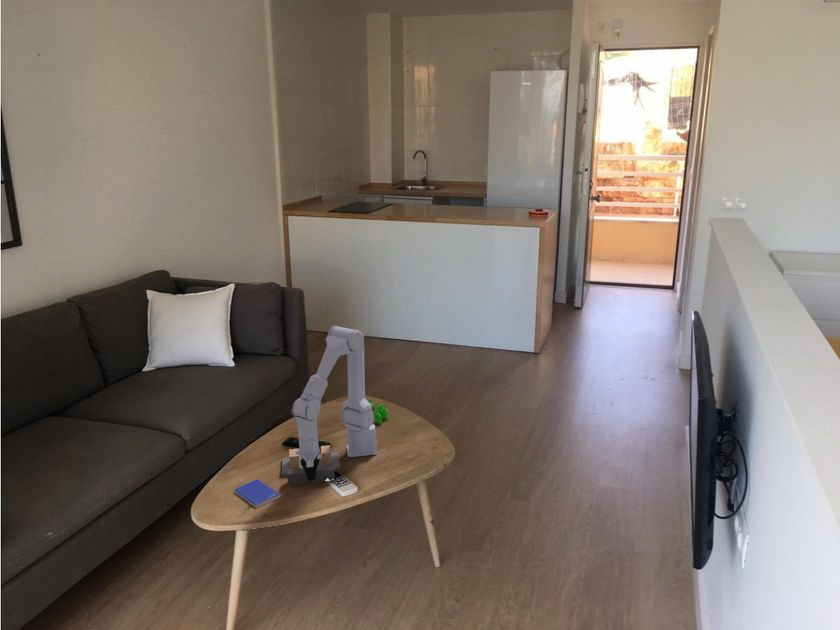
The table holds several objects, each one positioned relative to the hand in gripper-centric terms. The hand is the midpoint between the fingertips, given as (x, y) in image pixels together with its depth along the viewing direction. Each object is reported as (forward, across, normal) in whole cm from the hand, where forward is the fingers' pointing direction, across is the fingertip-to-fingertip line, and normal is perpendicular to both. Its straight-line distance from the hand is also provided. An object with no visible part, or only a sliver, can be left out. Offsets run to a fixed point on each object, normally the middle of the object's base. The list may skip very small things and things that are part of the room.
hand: (311, 476), depth 202 cm
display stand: (+1, -10, 0) cm, 10 cm away
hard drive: (+2, +4, -16) cm, 17 cm away
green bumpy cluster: (+2, -40, +22) cm, 46 cm away
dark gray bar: (+2, 0, 0) cm, 2 cm away
